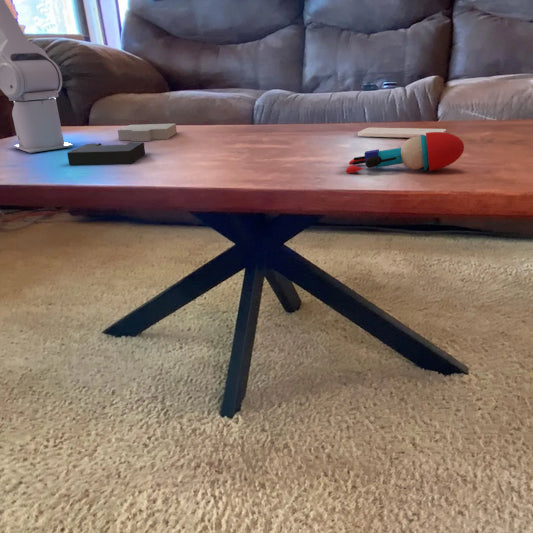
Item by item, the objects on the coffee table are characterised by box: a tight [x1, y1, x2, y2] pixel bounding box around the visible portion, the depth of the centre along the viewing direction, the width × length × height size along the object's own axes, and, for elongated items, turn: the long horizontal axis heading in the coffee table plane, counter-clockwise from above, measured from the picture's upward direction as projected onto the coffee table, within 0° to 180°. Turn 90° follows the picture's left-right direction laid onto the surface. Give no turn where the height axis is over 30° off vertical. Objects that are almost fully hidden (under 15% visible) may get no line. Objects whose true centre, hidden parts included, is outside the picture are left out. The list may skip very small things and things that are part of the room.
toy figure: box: [345, 132, 465, 174], centre depth 68 cm, size 8×5×15 cm
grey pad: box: [117, 123, 178, 143], centre depth 104 cm, size 10×10×2 cm
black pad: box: [66, 141, 146, 166], centre depth 83 cm, size 8×10×2 cm
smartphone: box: [357, 127, 447, 138], centre depth 95 cm, size 7×1×15 cm
